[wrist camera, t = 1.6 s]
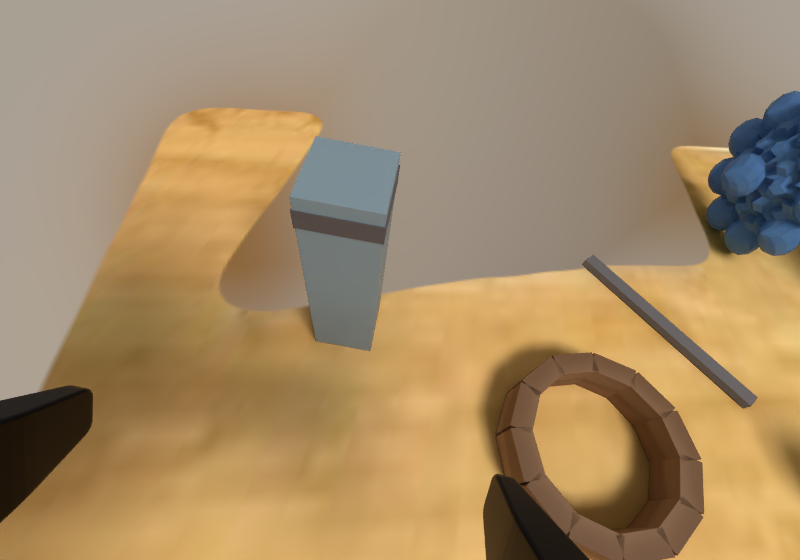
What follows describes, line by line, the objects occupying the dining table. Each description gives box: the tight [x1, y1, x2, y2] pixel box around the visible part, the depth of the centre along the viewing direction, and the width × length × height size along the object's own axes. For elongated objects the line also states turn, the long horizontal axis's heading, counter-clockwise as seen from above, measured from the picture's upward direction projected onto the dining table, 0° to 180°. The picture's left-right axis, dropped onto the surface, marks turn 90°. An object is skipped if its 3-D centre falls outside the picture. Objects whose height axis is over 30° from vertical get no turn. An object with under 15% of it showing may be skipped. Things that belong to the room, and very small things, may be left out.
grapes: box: [706, 91, 800, 256], centre depth 30 cm, size 12×7×12 cm, turn 0°
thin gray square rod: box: [582, 255, 758, 408], centre depth 28 cm, size 1×14×1 cm, turn 36°
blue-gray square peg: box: [289, 136, 400, 351], centre depth 20 cm, size 4×4×13 cm
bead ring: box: [496, 353, 704, 560], centre depth 22 cm, size 10×10×2 cm
